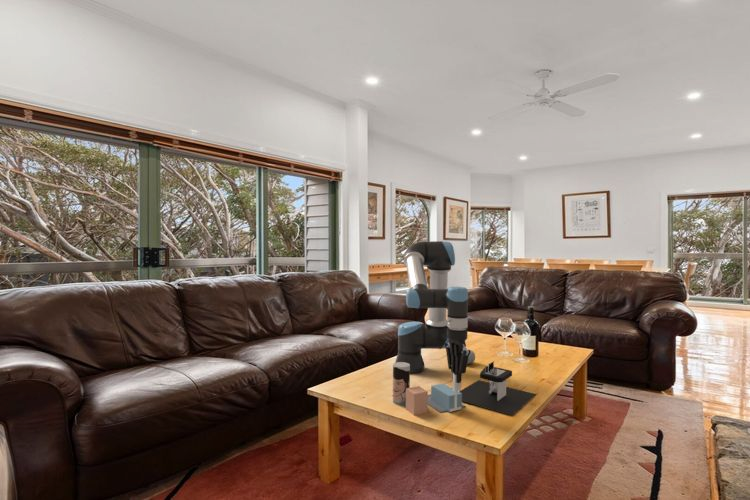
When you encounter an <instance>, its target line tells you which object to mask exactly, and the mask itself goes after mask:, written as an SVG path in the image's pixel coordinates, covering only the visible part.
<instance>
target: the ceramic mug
mask: <svg viewBox="0 0 750 500" xmlns="http://www.w3.org/2000/svg"><path fill="white" fill-rule="evenodd" d="M469 350H470V354H469V357H468V362H467V365H469V364H472V363H474V362H475V360H476V355H475V354H476V353H474V351H473V350H472V349H469Z"/></svg>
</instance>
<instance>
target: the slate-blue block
mask: <svg viewBox="0 0 750 500" xmlns="http://www.w3.org/2000/svg"><path fill="white" fill-rule="evenodd" d="M430 394H431V401H433V402H434V403H436V404H437V405H439V406H441V407H442V408H444V409H445V410H447V411H446V412H448V413H449V412H450V413H451V412H454V411H459V410H463V408H462V404H463V401H462V393H460V392H459V391H453V387H450V386H449V385H447V384H445V383H439V384H433V385H431V386H430Z"/></svg>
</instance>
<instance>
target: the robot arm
mask: <svg viewBox="0 0 750 500" xmlns="http://www.w3.org/2000/svg"><path fill="white" fill-rule="evenodd" d="M403 263H404V266H405V267H406V271H407V278H408V285H409V289H407V290H406V294H405V301H406V306H407V308H409V309H410V308H411V309H414V308H415V309H429V310H428V318H427V320H426V321H425V324H423V323H422V322H421V321H408V322H404V323H400V325H398V328H397V336H398V337H397V338H398V340H397V345H398V346H397V355H396V358H395V362H394V363H397V362H405V363H409V364H410V375H412V374H413V375H414V374H419V373H423V372H424V371H425V368H426V367H425V361H424V359H423V356H422V355H423V354H422V350H423V349H426V350H427V349H432V350H435V349H437V350H442V349H445V352H446V360H447V366H448V370H450V371H451V374H452V376H451V380H452V388H453V391H458V392H459V391H461V390H462V387H461V386H462V377H463V375H464V374H466V372H467V366H468V364H467V362H468V357H469V354H470V350H471V349H468V348H467V344H466V341H467V339H468V326H469V325H468V324H469V323H468V322H469V319H468V313H469V312H468V309H469V307H468V303H469V294H468V288H466V287H464V286H450V287H448V277H449V274H448V273H449V272H450V271H451V270H452V267H453V266H454V265H455V264H456V255H455V249H454V246H453V243H452V242H450V241H443V240H441V241H440V240H438V241H435V240H434V241H425V240H424V241H422V240H421V241H416V242H415V243H412V244H411V245H410V246H409V247H407V249H406V250H405V252H404V254H403ZM424 266H426V267H427V270H428V271H429V272H430V273H429V285H428V282H427V277H426V271H425V268H424Z"/></svg>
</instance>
